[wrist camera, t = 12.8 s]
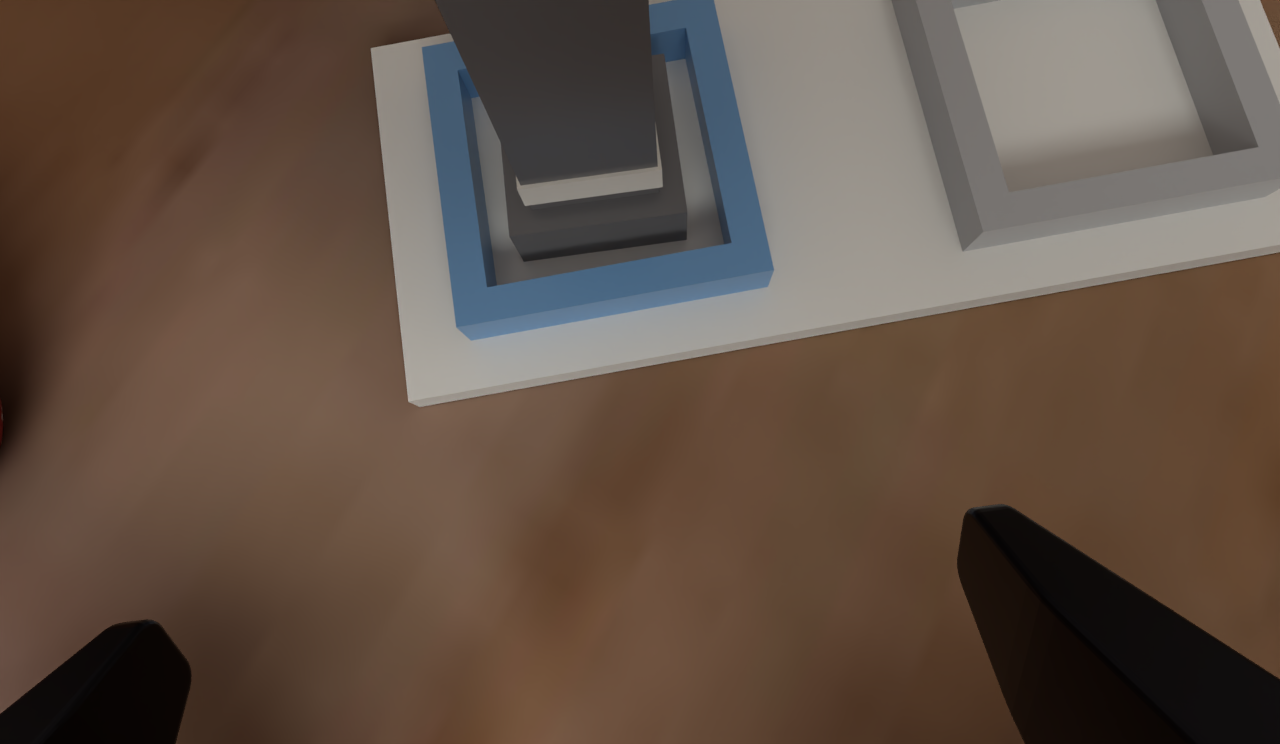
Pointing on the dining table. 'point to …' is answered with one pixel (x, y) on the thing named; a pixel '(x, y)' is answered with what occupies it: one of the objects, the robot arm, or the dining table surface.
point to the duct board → (844, 178)
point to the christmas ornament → (1, 422)
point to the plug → (576, 121)
